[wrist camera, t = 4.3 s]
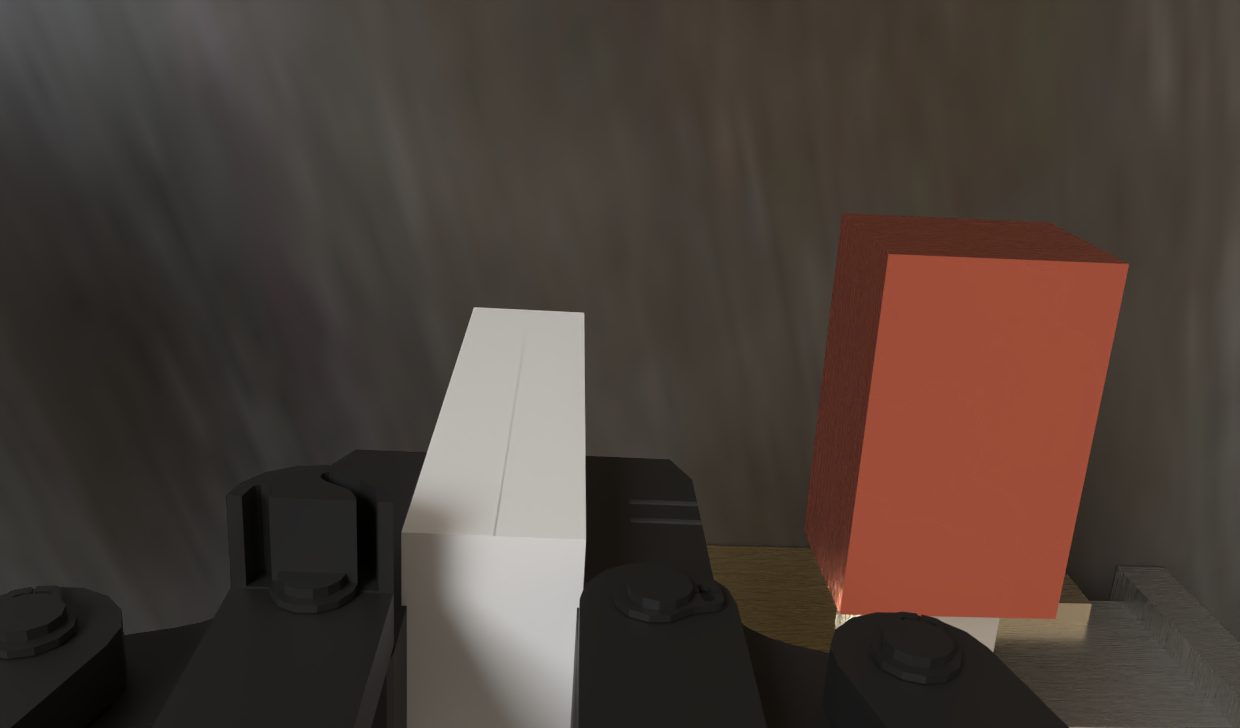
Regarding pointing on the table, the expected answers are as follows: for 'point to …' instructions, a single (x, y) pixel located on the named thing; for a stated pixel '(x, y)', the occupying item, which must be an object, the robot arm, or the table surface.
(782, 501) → the table surface
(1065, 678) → the valve pipe
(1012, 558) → the valve lever
